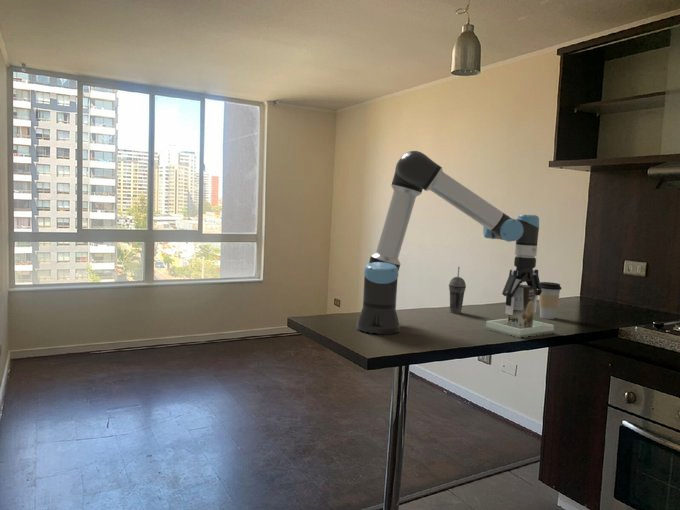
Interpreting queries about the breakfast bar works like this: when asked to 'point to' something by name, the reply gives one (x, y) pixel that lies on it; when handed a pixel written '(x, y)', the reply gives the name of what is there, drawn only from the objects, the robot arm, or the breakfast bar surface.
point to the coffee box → (523, 307)
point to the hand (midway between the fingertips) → (520, 313)
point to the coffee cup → (549, 299)
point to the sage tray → (502, 327)
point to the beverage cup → (456, 294)
